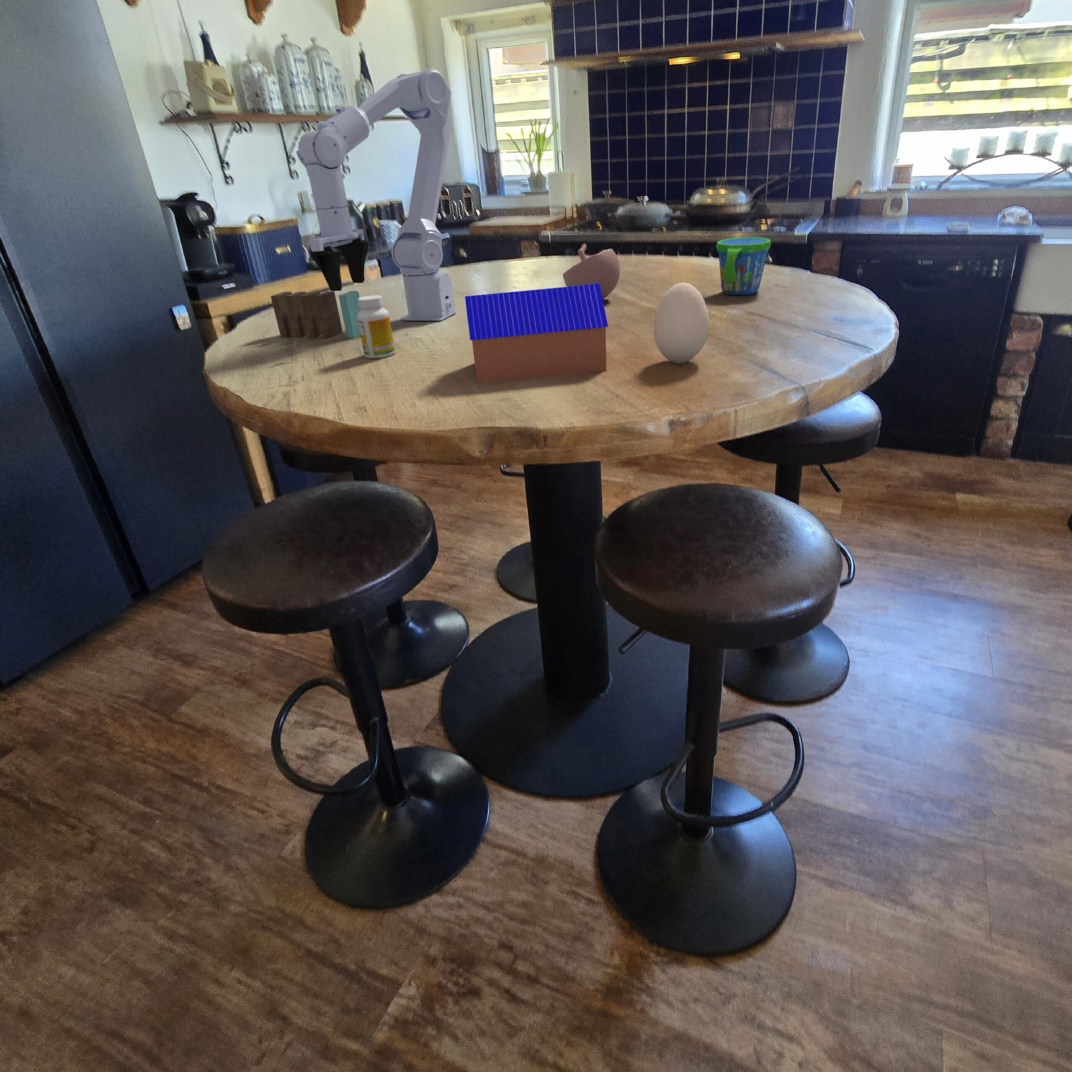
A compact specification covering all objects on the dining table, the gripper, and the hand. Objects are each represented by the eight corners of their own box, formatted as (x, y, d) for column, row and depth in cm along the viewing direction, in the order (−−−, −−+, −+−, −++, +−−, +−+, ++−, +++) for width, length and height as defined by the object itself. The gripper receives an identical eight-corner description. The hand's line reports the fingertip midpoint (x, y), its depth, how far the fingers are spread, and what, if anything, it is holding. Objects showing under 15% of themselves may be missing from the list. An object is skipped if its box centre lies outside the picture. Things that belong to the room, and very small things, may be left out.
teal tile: (347, 338, 134) (338, 295, 130) (359, 332, 137) (351, 291, 133) (354, 338, 133) (345, 295, 129) (366, 332, 137) (358, 290, 133)
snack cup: (748, 301, 137) (752, 246, 132) (699, 298, 143) (702, 245, 138) (778, 287, 147) (784, 235, 142) (732, 284, 153) (735, 235, 148)
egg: (650, 356, 107) (651, 279, 102) (701, 353, 107) (705, 276, 101) (656, 371, 100) (657, 289, 95) (711, 368, 100) (716, 285, 94)
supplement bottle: (401, 351, 122) (391, 293, 117) (385, 359, 117) (375, 300, 113) (374, 350, 123) (364, 294, 119) (358, 358, 119) (347, 300, 114)
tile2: (342, 332, 138) (334, 291, 134) (330, 338, 135) (321, 295, 131) (336, 332, 139) (327, 291, 135) (323, 338, 135) (314, 295, 131)
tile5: (300, 332, 142) (291, 291, 138) (287, 337, 138) (277, 296, 134) (294, 332, 142) (284, 291, 138) (280, 337, 139) (270, 296, 135)
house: (609, 372, 103) (607, 290, 97) (475, 385, 101) (465, 304, 96) (594, 352, 113) (591, 277, 107) (472, 364, 112) (463, 289, 106)
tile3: (328, 332, 139) (319, 291, 136) (315, 337, 136) (306, 295, 132) (322, 332, 140) (312, 291, 136) (309, 337, 136) (299, 295, 132)
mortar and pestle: (583, 294, 156) (581, 239, 150) (630, 297, 149) (630, 240, 144) (553, 305, 147) (550, 247, 142) (601, 308, 141) (600, 248, 135)
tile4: (314, 332, 141) (305, 291, 137) (301, 337, 137) (291, 295, 133) (308, 332, 141) (298, 291, 137) (294, 337, 137) (284, 295, 134)
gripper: (327, 210, 117) (344, 294, 123) (372, 202, 128) (385, 279, 135) (293, 212, 119) (311, 294, 126) (340, 204, 131) (354, 279, 137)
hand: (347, 286), depth 131 cm, fingers open, 7 cm apart
